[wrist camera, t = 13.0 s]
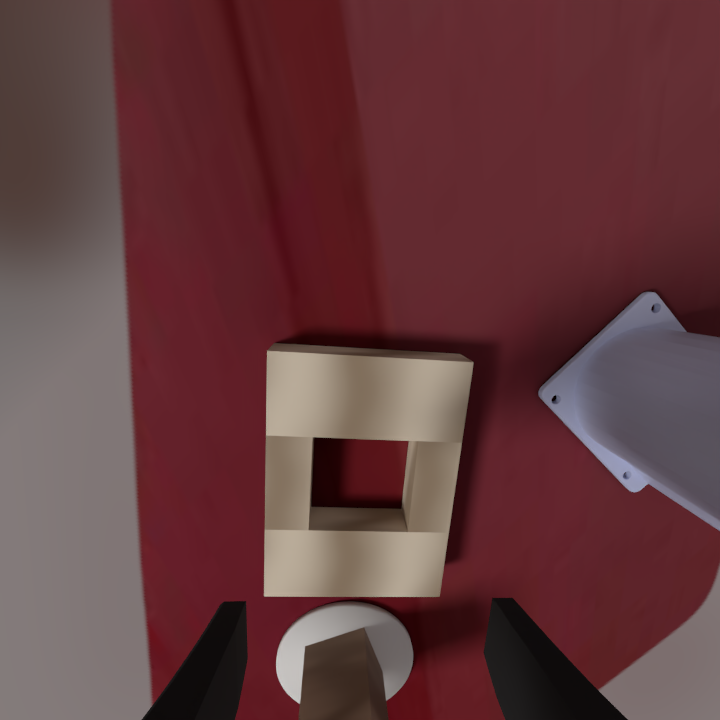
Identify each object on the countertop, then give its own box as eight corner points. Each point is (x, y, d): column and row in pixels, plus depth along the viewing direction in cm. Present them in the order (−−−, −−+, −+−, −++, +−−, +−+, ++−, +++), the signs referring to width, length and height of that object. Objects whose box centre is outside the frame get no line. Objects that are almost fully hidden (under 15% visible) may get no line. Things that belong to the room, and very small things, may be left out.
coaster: (439, 649, 24) (440, 655, 24) (347, 726, 25) (347, 733, 25) (342, 577, 22) (342, 582, 22) (248, 664, 23) (246, 670, 23)
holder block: (460, 353, 19) (473, 362, 17) (430, 569, 22) (439, 596, 20) (274, 343, 19) (267, 350, 17) (270, 567, 22) (264, 596, 20)
